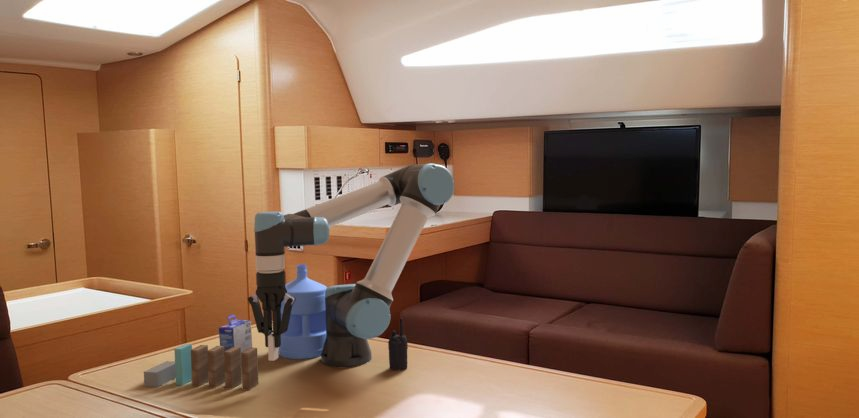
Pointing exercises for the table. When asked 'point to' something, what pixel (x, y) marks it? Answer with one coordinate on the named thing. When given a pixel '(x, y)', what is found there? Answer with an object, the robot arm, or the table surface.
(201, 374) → the domino
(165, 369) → the block
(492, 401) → the table surface
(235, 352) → the domino
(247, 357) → the domino
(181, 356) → the teal domino
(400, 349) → the two-way radio
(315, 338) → the water jug
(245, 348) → the ink cartridge box
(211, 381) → the domino
